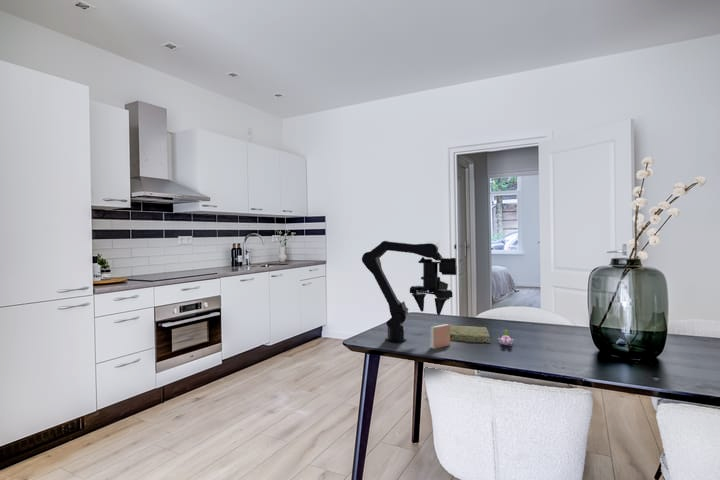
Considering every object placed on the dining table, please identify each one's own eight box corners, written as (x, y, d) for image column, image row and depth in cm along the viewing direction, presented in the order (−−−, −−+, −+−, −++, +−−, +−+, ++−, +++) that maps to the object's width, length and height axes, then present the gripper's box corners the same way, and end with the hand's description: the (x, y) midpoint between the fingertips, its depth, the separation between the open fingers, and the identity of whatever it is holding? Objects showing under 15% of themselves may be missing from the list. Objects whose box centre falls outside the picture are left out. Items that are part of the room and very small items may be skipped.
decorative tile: (440, 331, 187) (440, 323, 187) (486, 333, 183) (486, 325, 183) (440, 342, 169) (440, 333, 169) (491, 344, 165) (491, 335, 165)
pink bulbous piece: (497, 343, 170) (497, 346, 156) (498, 328, 171) (497, 330, 157) (514, 344, 168) (514, 347, 154) (514, 329, 169) (514, 331, 155)
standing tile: (430, 347, 159) (430, 327, 159) (446, 343, 164) (446, 323, 164) (434, 348, 157) (434, 327, 157) (450, 344, 163) (449, 324, 163)
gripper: (462, 275, 162) (461, 314, 163) (427, 271, 178) (427, 307, 178) (442, 276, 156) (442, 317, 156) (408, 273, 171) (408, 310, 171)
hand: (430, 313), depth 165 cm, fingers open, 9 cm apart
